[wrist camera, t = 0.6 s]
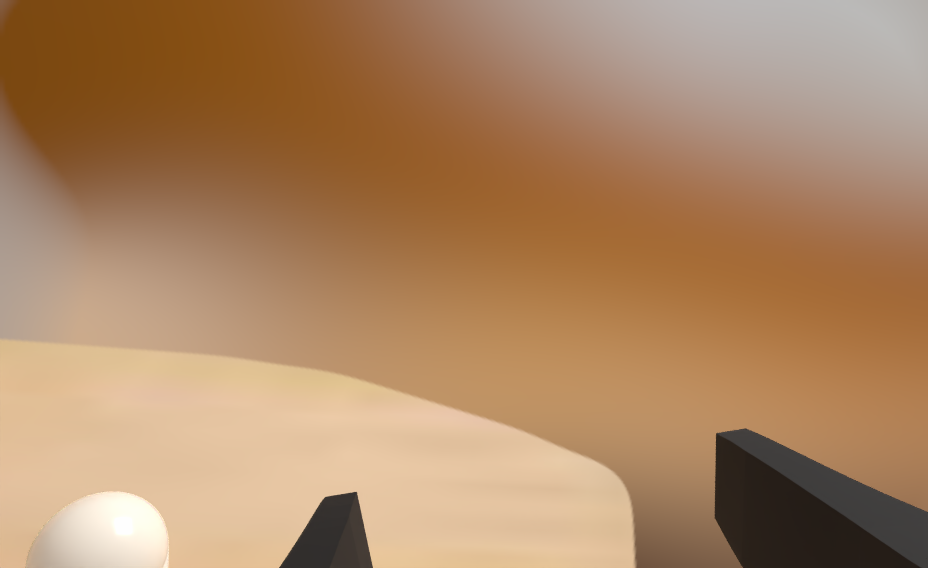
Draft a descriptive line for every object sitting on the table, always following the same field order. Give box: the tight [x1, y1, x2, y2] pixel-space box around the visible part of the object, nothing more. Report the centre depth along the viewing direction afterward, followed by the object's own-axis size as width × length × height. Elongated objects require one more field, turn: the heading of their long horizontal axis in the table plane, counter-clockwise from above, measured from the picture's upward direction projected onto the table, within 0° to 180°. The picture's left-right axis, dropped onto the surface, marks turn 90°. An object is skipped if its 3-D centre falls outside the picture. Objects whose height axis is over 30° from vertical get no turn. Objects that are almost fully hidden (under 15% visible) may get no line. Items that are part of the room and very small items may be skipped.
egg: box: [25, 491, 169, 568], centre depth 22 cm, size 4×4×6 cm
